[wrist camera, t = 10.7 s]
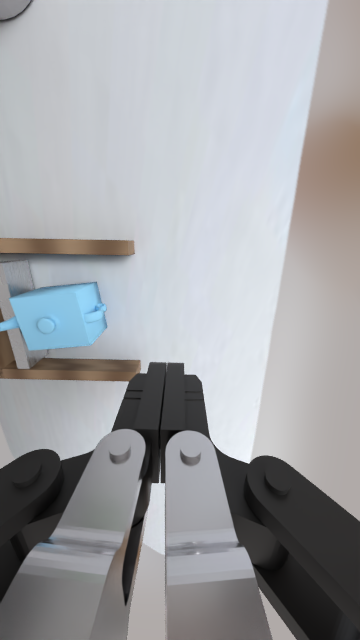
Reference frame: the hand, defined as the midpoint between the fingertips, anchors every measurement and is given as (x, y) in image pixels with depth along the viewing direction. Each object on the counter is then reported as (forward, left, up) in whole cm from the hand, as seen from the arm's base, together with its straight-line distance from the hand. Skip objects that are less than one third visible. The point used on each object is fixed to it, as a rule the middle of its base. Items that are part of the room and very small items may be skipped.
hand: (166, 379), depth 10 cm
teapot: (-14, -3, -20) cm, 24 cm away
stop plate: (-19, -3, -19) cm, 27 cm away
